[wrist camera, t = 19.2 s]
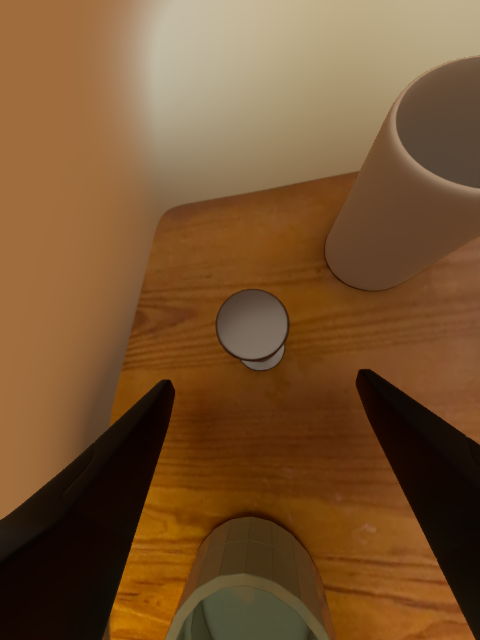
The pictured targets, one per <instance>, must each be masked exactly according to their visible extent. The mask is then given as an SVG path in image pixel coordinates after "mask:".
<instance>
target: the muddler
mask: <svg viewBox="0 0 480 640" xmlns="http://www.w3.org/2000/svg"><path fill="white" fill-rule="evenodd" d="M289 327H290V323H289V316H288V313H287V310H286V308H285V306H284V305H283V303H282V302H281V301H280V300H279V299H278V298H277V297H276V296H274V295H273V294H271V293H269V292H267V291H264V290H260V289H246V290H242V291H239V292H237V293H235V294H233V295H232V296H230V297H229V298H228V299H227V300H226V301H225V302H224V303H223V304H222V306H221V307H220V309H219V311H218V314H217V317H216V334H217V337H218V340H219V342H220V344H221V345H222V347H223V348H224V349H225V350H226V351H227V352H228V353H229V354H230V355H232V356H233V357H235V358H237V359H240V361H241V362H242V363H243V364H244V365H245V366H246V367H248V368H250V369H252V370H255V371H266V370H269V369H272V368H274V367H275V366H276V365H277V364H278V363H279V362H280V361H281V359H282V358H283V355H284V351H285V341H286V339H287V337H288V333H289Z"/></svg>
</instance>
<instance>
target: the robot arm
mask: <svg viewBox="0 0 480 640" xmlns="http://www.w3.org/2000/svg"><path fill="white" fill-rule="evenodd" d="M356 387H357V390H358V393H359V395H360V398H361V401H362V404H363V406H364V409H365V412H366V415H367V417H368V420H369V422H370V424H371V426H372V428H373V430H374V432H375V434H376V436H377V438H378V441H379V443H380V445H381V447H382V449H383V451H384V453H385V455H386V457H387V459H388V461H389V463H390V465H391V467H392V469H393V471H394V473H395V475H396V477H397V479H398V481H399V483H400V486H401V488H402V490H403V492H404V494H405V496H406V498H407V500H408V502H409V504H410V506H411V508H412V510H413V512H414V514H415V516H416V518H417V520H418V522H419V524H420V526H421V528H422V531H423V533H424V535H425V537H426V539H427V541H428V543H429V545H430V547H431V549H432V551H433V553H434V555H435V557H436V558H437V562H438V564H439V566H440V568H441V570H442V572H443V574H444V576H445V578H446V580H447V582H448V584H449V586H450V588H451V590H452V592H453V594H454V596H455V598H456V600H457V602H458V605H459V607H460V609H461V611H462V613H463V615H464V617H465V619H466V621H467V623H468V625H469V627H470V629H471V631H472V633H473V635H474V637H475V639H476V640H480V445H479V444H478V443H476V442H475V441H473V440H472V439H470V438H469V437H466V435H464V434H463V433H462V432H460V431H459V430H457V429H456V428H454V427H453V426H451V425H450V424H449V423H447V422H446V421H444V420H443V419H441V418H440V417H438V416H437V415H436V414H434V413H433V412H431V411H430V410H428V409H427V408H425V407H424V406H422V405H421V404H420V403H418V402H417V401H415V400H414V399H412V398H411V397H409V396H408V395H407V394H405V393H404V392H402V391H401V390H399V389H398V388H396V387H395V386H394V385H392V384H391V383H389V382H388V381H386V380H385V379H383V378H382V377H381V376H379V375H378V374H376V373H375V372H373V371H372V370H370V369H360V370H359V371H358V375H357V378H356ZM174 398H175V389H174V387H173V385H172V382H171V381H170V380H169V379H167V380H161V381H160V382H158V383H157V384H156V385H155V386H154V387H153V388H152V389H151V390H150V391H149V392H148V393H147V394H146V395H144V396H143V397H142V398H141V399H140V400H139V401H138V402H137V403H136V404H135V405H134V406H133V407H131V408H130V409H129V410H128V411H127V412H126V413H125V414H124V415H123V416H122V417H121V418H120V419H119V420H117V421H116V422H115V423H114V424H113V425H112V426H111V427H110V428H109V429H108V430H107V431H106V432H104V434H102V435H101V436H100V437H99V438H98V439H97V440H96V441H95V443H93V444H91V445H90V446H89V447H88V448H87V449H86V450H85V451H84V452H83V453H82V454H81V455H79V456H78V457H77V458H76V459H75V460H74V461H73V462H72V463H71V464H69V465H68V466H67V467H66V468H65V469H63V470H62V471H61V472H60V473H59V474H58V475H56V476H55V477H54V478H53V479H52V480H51V481H49V482H48V483H47V484H46V485H44V486H43V487H42V488H41V489H39V490H38V491H37V492H36V493H35V494H33V495H32V496H31V497H30V498H29V499H27V500H26V501H25V502H24V503H23V504H22V505H20V506H19V507H18V508H16V509H15V510H14V511H13V512H11V513H10V514H9V515H7V516H6V517H5V518H3V519H1V520H0V640H102V638H103V635H104V632H105V629H106V626H107V622H108V619H109V616H110V613H111V610H112V606H113V603H114V600H115V597H116V594H117V590H118V587H119V584H120V581H121V578H122V574H123V571H124V568H125V565H126V562H127V558H128V555H129V552H130V549H131V545H132V544H131V543H132V542H133V539H134V535H135V532H136V529H137V526H138V523H139V519H140V516H141V513H142V510H143V506H144V503H145V500H146V497H147V494H148V490H149V487H150V484H151V481H152V478H153V474H154V471H155V468H156V465H157V462H158V458H159V455H160V452H161V449H162V446H163V442H164V439H165V436H166V433H167V429H168V426H169V422H170V417H171V412H172V408H173V403H174Z"/></svg>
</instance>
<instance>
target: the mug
mask: <svg viewBox="0 0 480 640" xmlns="http://www.w3.org/2000/svg"><path fill="white" fill-rule="evenodd" d="M479 236H480V55H477V56H469V57H464V58H460V59H456V60H452V61H449V62H446V63H443V64H441V65H438V66H436V67H434V68H432V69H430V70H428V71H426V72H425V73H423V74H421V75H420V76H418V77H417V78H416V79H415V80H413V81H412V82H411V83H410V84H409V85H408V86H407V87H406V88H405V89H404V90H403V91H402V92H401V93H400V95H399V96H398V98H397V99H396V100H395V102H394V103H393V105H392V107H391V109H390V111H389V113H388V115H387V117H386V119H385V121H384V123H383V125H382V127H381V129H380V131H379V133H378V135H377V137H376V139H375V141H374V143H373V145H372V147H371V149H370V151H369V153H368V155H367V157H366V160H365V162H364V164H363V166H362V168H361V170H360V172H359V174H358V176H357V178H356V180H355V182H354V184H353V186H352V188H351V190H350V192H349V194H348V196H347V198H346V200H345V203H344V205H343V207H342V209H341V211H340V213H339V215H338V216H337V218H336V220H335V222H334V224H333V226H332V228H331V230H330V232H329V234H328V236H327V239H326V243H325V257H326V261H327V263H328V266H329V267H330V269H331V271H332V272H333V273H334V274H335V275H336V276H337V277H338V278H339V279H340V280H341V281H343V282H344V283H346V284H348V285H350V286H352V287H355V288H358V289H362V290H369V291H377V290H384V289H389V288H392V287H395V286H397V285H399V284H401V283H403V282H404V281H406V280H408V279H409V278H411V277H412V276H414V275H416V274H417V273H419V272H420V271H422V270H424V269H425V268H427V267H429V266H430V265H432V264H434V263H435V262H437V261H439V260H440V259H442V258H444V257H445V256H447V255H449V254H450V253H452V252H454V251H455V250H457V249H459V248H461V247H462V246H464V245H466V244H467V243H469V242H471V241H472V240H474V239H476V238H477V237H479Z"/></svg>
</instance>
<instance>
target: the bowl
mask: <svg viewBox="0 0 480 640" xmlns="http://www.w3.org/2000/svg"><path fill="white" fill-rule="evenodd" d="M165 640H337V639H336V635H335V631H334V627H333V623H332V619H331V615H330V611H329V607H328V603H327V600H326V596H325V592H324V588H323V584H322V580H321V577H320V575H319V573H318V571H317V569H316V567H315V565H314V563H313V561H312V559H311V557H310V555H309V554H308V552H307V551H306V550H305V549H304V548H303V547H302V545H301V544H300V543H299V542H298V541H297V540H296V539H295V537H294V536H293V535H292V534H291V533H290V532H288V531H286V530H285V529H283V528H282V527H280V526H279V525H277V524H275V523H274V522H271V521H269V520H265V519H261V518H256V517H252V516H251V517H243V518H236V519H232V520H229V521H227V522H225V523H224V524H222V525H220V526H219V527H217V528H215V529H214V530H213V531H212V532H211V533H210V535H209V536H208V537H207V538H206V539H205V541H204V542H203V543H202V544H201V546H200V547H199V550H198V552H197V555H196V557H195V559H194V562H193V564H192V567H191V569H190V572H189V575H188V577H187V580H186V583H185V586H184V588H183V591H182V594H181V597H180V599H179V602H178V605H177V607H176V610H175V613H174V616H173V618H172V621H171V624H170V627H169V629H168V632H167V635H166V637H165Z"/></svg>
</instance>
